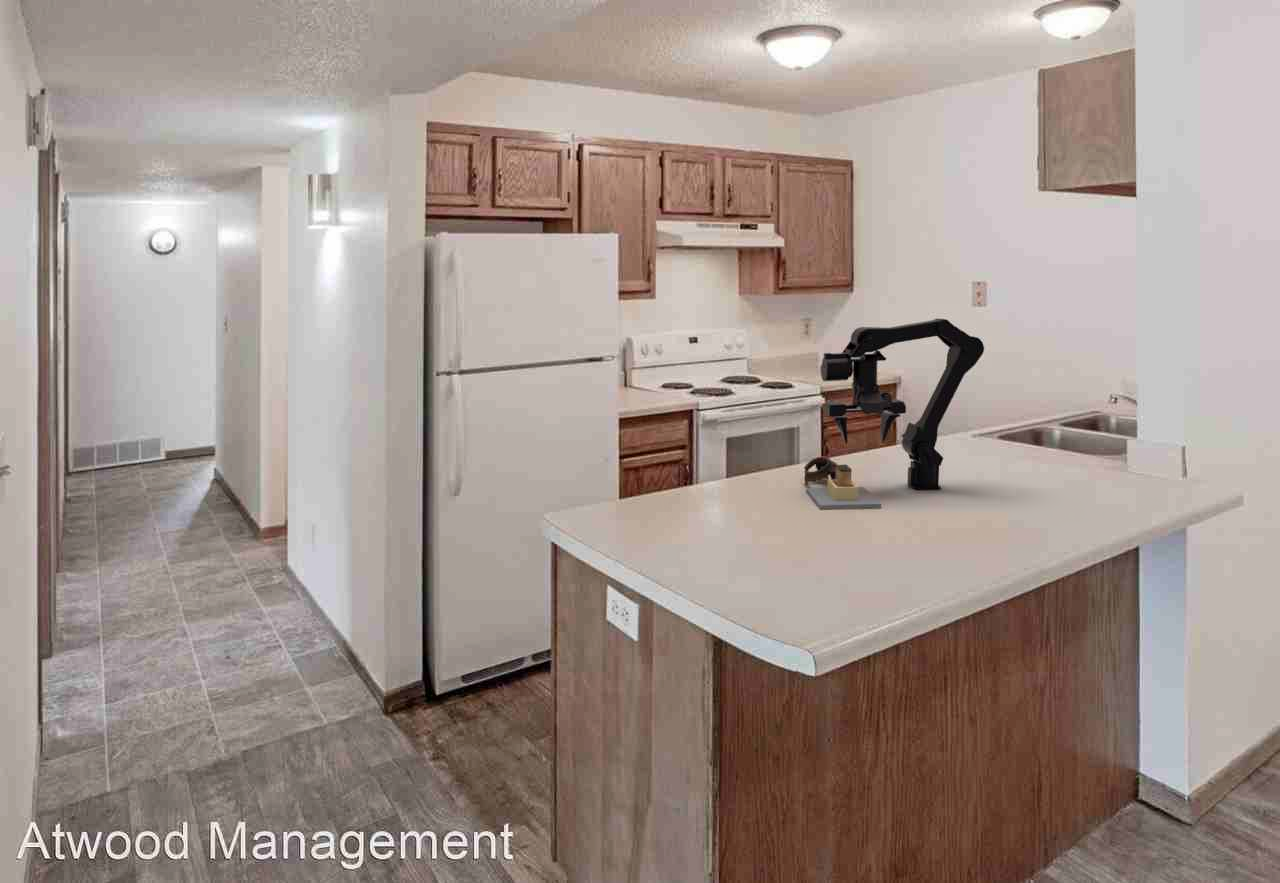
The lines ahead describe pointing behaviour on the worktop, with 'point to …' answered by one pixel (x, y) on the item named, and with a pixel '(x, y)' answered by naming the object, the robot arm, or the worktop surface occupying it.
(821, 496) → the grey board with socket
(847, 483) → the wood topped block
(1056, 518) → the worktop surface
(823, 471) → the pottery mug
